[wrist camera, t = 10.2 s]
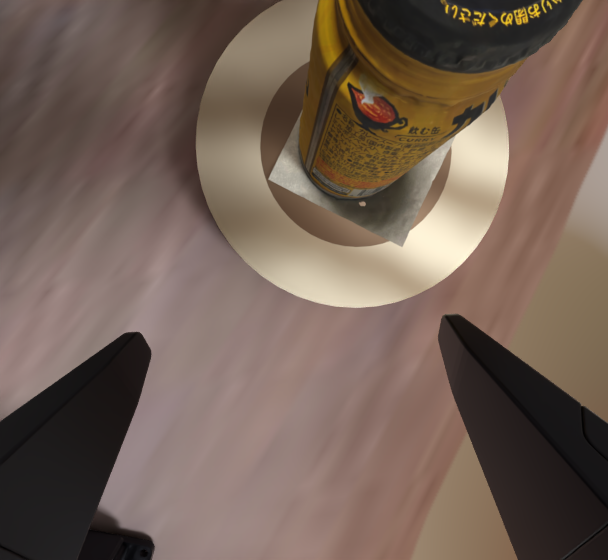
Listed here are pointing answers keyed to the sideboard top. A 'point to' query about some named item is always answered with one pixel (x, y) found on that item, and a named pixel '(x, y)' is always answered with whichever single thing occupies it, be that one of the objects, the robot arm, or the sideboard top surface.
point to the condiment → (401, 97)
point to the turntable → (309, 216)
